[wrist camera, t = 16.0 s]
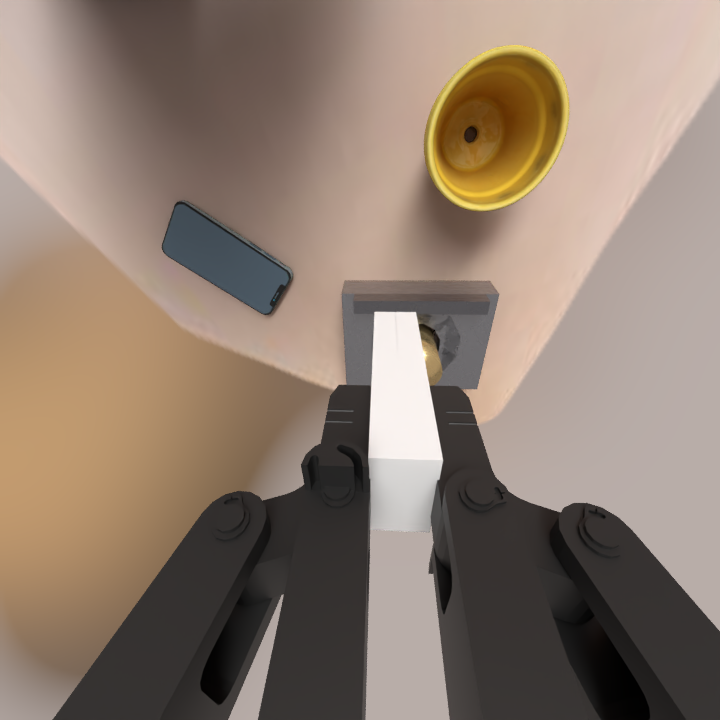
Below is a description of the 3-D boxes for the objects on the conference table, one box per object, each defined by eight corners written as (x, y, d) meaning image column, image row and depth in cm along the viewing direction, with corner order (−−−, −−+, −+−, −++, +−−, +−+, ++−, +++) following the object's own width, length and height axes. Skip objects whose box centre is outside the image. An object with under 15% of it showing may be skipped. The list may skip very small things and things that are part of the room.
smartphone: (175, 196, 37) (293, 274, 41) (183, 194, 38) (297, 270, 42) (157, 252, 41) (267, 319, 45) (165, 248, 42) (271, 313, 46)
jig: (349, 369, 50) (345, 395, 45) (344, 280, 42) (339, 300, 37) (470, 371, 49) (480, 398, 44) (489, 280, 41) (504, 301, 36)
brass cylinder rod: (393, 344, 47) (396, 389, 39) (395, 312, 44) (398, 353, 36) (428, 345, 47) (439, 390, 39) (433, 313, 44) (445, 354, 36)
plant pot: (399, 109, 32) (404, 103, 24) (508, 38, 29) (556, 3, 21) (438, 211, 37) (453, 235, 29) (535, 160, 34) (582, 170, 26)
